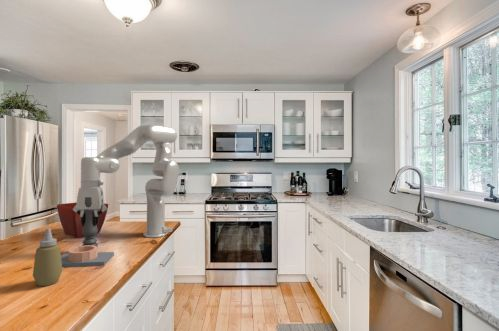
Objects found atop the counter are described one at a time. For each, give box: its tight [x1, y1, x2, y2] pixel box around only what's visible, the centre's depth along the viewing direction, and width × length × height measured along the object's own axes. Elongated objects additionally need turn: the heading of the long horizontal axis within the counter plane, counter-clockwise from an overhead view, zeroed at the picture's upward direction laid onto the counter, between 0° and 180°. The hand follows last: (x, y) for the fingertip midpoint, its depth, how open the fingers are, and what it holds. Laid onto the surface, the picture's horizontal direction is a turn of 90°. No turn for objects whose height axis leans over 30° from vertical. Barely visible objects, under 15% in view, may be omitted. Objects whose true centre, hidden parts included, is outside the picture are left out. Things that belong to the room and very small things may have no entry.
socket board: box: [61, 245, 115, 268], centre depth 113 cm, size 20×12×5 cm, turn 100°
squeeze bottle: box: [32, 228, 63, 287], centre depth 92 cm, size 8×8×18 cm
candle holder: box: [81, 197, 99, 247], centre depth 124 cm, size 6×6×25 cm
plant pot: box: [56, 201, 109, 239], centre depth 154 cm, size 19×19×17 cm
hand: (90, 224), depth 124 cm, fingers open, 4 cm apart
